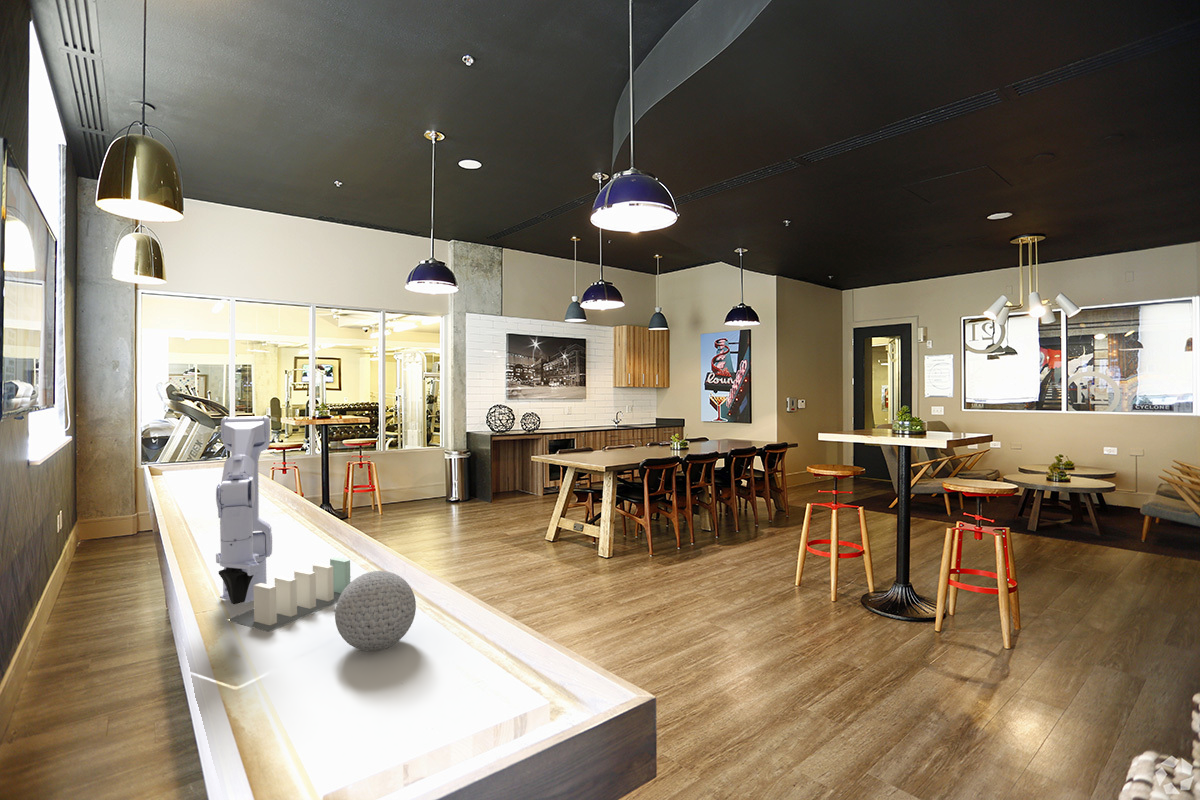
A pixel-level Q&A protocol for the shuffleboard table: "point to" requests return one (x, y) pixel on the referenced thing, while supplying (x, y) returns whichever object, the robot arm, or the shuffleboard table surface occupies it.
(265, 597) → the domino
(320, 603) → the slate mat
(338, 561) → the domino
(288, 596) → the domino
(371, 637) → the decorative ball
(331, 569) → the domino
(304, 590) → the domino
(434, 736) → the shuffleboard table surface
